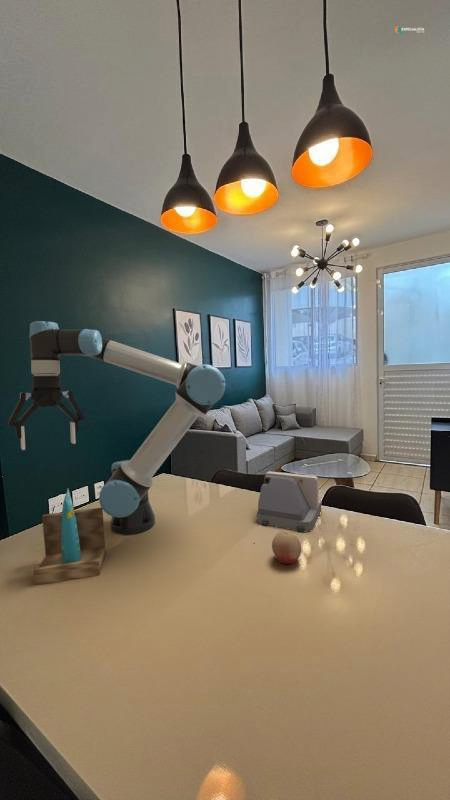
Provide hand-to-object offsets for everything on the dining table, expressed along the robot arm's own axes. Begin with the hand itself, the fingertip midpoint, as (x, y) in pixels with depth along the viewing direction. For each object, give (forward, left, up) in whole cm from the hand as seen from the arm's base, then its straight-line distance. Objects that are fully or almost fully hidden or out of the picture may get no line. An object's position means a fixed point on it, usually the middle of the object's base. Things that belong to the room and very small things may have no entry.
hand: (49, 446), depth 102 cm
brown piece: (-7, +12, -33) cm, 35 cm away
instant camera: (-76, -1, -33) cm, 83 cm away
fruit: (-65, +25, -33) cm, 77 cm away
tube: (-7, +12, -30) cm, 33 cm away
